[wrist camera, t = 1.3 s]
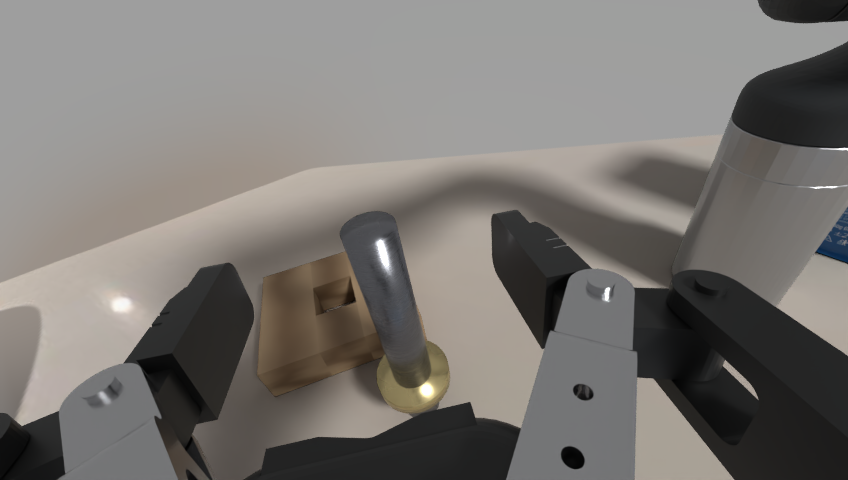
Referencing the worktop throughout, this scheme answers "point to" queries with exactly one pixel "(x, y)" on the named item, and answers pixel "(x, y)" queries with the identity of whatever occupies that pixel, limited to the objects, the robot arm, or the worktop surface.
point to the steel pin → (395, 316)
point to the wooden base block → (314, 325)
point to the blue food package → (837, 240)
